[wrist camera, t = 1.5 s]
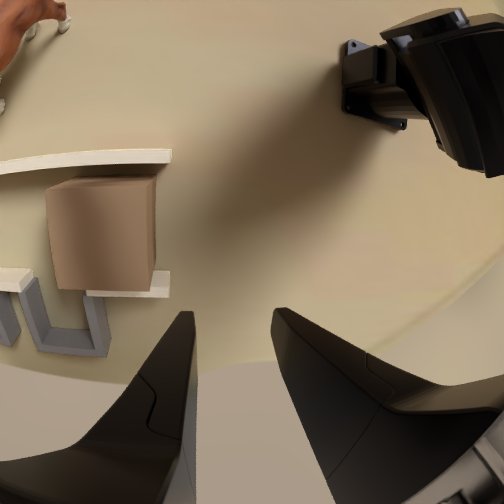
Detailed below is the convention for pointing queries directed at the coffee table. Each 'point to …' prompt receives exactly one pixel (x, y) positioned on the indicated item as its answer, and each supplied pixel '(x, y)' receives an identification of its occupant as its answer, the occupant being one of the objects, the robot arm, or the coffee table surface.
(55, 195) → the walnut block
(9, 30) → the bull figurine
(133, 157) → the trap pen
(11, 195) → the coffee table surface
